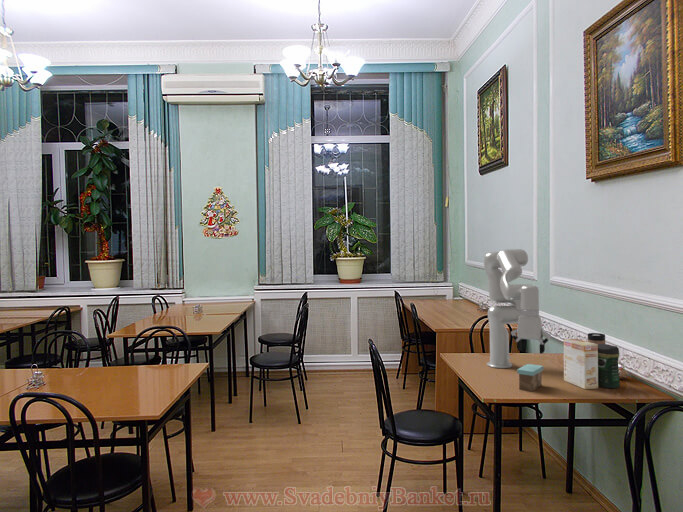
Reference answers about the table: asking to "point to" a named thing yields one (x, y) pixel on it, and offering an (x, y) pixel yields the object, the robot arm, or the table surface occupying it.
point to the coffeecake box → (581, 363)
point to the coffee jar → (608, 366)
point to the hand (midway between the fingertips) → (530, 351)
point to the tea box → (530, 381)
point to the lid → (530, 369)
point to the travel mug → (596, 338)
